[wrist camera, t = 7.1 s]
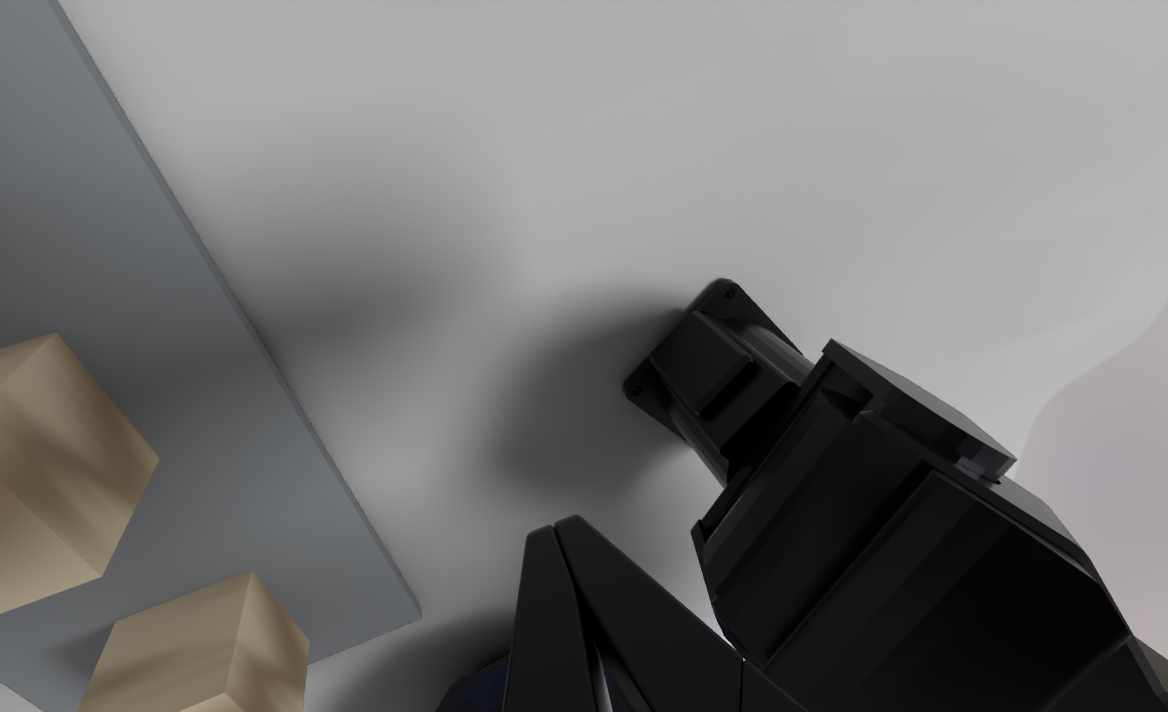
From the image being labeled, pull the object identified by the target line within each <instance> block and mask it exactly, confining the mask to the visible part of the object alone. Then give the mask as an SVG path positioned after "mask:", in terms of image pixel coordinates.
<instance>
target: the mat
mask: <svg viewBox="0 0 1168 712" xmlns="http://www.w3.org/2000/svg"><path fill="white" fill-rule="evenodd" d="M55 332H56V333H57V334H58V335H59V336H60V338H61V339H62V340H63V341H64V342H65V344H66V345H67V346H68V347H69V349H70V350H71V351H72V352H73V353H74V355H75V356H76V357H77V358H78V359H79V361H80V362H81V363H82V364H83V366H84V367H85V368H86V369H87V370H88V372H89V373H90V374H91V375H92V376H93V378H94V379H95V380H96V381H97V383H98V384H99V385H100V386H101V387H102V389H103V390H104V391H105V392H106V393H107V395H108V396H109V397H110V398H111V400H112V401H113V402H114V403H115V404H116V406H117V407H118V408H119V409H120V410H121V412H122V413H123V414H124V415H125V417H126V418H127V419H128V420H129V421H130V423H131V424H132V425H133V426H134V427H135V429H136V430H137V431H138V432H139V434H140V435H141V436H142V437H143V438H144V440H145V441H146V442H147V443H148V444H149V446H150V447H151V448H152V449H153V451H154V452H155V453H156V454H157V455H158V457H159V458H160V459H159V461H158V463H157V465H156V467H155V469H154V471H153V473H152V475H151V478H150V480H149V482H148V484H147V486H146V488H145V490H144V492H143V494H142V496H141V498H140V500H139V502H138V504H137V506H136V508H135V510H134V512H133V514H132V516H131V518H130V520H129V522H128V524H127V526H126V528H125V530H124V532H123V534H122V536H121V538H120V540H119V543H118V545H117V547H116V549H115V551H114V553H113V555H112V557H111V559H110V561H109V563H108V565H107V567H106V569H105V571H104V573H103V575H102V577H100V578H97V579H94V580H92V581H89V582H86V583H83V584H81V585H78V586H75V587H72V588H70V589H67V590H64V591H62V592H59V593H56V594H53V595H51V596H48V597H45V598H42V599H40V600H37V601H34V602H31V603H29V604H26V605H23V606H20V607H18V608H15V609H12V610H9V611H7V612H4V613H1V614H0V682H1V683H2V684H4V685H5V686H7V687H8V688H10V689H11V690H13V691H14V692H16V693H17V694H19V695H20V696H21V697H23V698H24V699H26V700H27V701H29V702H30V703H32V704H33V705H35V706H36V707H37V708H39V709H40V710H42V711H43V712H77V710H78V707H79V705H80V703H81V700H82V698H83V696H84V693H85V691H86V689H87V686H88V684H89V682H90V679H91V677H92V675H93V673H94V670H95V668H96V666H97V663H98V661H99V659H100V656H101V654H102V652H103V649H104V647H105V645H106V642H107V640H108V638H109V635H110V633H111V631H112V628H113V626H114V624H115V622H116V621H118V620H121V619H123V618H126V617H129V616H131V615H134V614H137V613H139V612H142V611H145V610H147V609H150V608H153V607H155V606H158V605H160V604H163V603H166V602H168V601H171V600H174V599H176V598H179V597H182V596H184V595H187V594H190V593H192V592H195V591H198V590H200V589H203V588H205V587H208V586H211V585H213V584H216V583H219V582H221V581H224V580H227V579H229V578H232V577H235V576H237V575H240V574H243V573H245V572H248V571H250V570H252V571H253V572H254V574H255V575H256V576H257V577H258V578H259V580H260V581H261V582H262V583H263V584H264V586H265V587H266V588H267V589H268V591H269V592H270V593H271V594H272V595H273V597H274V598H275V599H276V600H277V601H278V603H279V604H280V605H281V606H282V607H283V609H284V610H285V611H286V612H287V614H288V615H289V616H290V617H291V618H292V620H293V621H294V622H295V623H296V624H297V626H298V627H299V628H300V629H301V631H302V632H303V633H304V634H305V635H306V637H307V638H308V639H309V640H310V642H309V652H308V662H307V665H309V664H312V663H314V662H316V661H319V660H321V659H324V658H326V657H329V656H331V655H333V654H336V653H338V652H341V651H343V650H346V649H348V648H351V647H353V646H355V645H358V644H360V643H363V642H365V641H368V640H370V639H372V638H375V637H377V636H380V635H382V634H385V633H387V632H390V631H392V630H394V629H397V628H399V627H402V626H404V625H407V624H409V623H411V622H414V621H416V620H419V619H421V618H422V614H421V607H420V605H419V603H418V602H417V600H416V598H415V597H414V595H413V593H412V592H411V590H410V588H409V587H408V585H407V583H406V582H405V580H404V578H403V577H402V575H401V573H400V572H399V570H398V568H397V567H396V565H395V563H394V562H393V560H392V558H391V557H390V555H389V553H388V552H387V550H386V548H385V547H384V545H383V543H382V542H381V540H380V538H379V537H378V535H377V533H376V532H375V530H374V528H373V527H372V525H371V523H370V522H369V520H368V518H367V517H366V515H365V513H364V512H363V510H362V508H361V507H360V505H359V503H358V502H357V500H356V498H355V497H354V495H353V493H352V492H351V490H350V488H349V487H348V485H347V483H346V482H345V480H344V478H343V477H342V475H341V473H340V472H339V470H338V468H337V467H336V465H335V463H334V462H333V460H332V458H331V457H330V455H329V453H328V452H327V450H326V448H325V446H324V445H323V443H322V441H321V440H320V438H319V436H318V435H317V433H316V431H315V430H314V428H313V426H312V425H311V423H310V421H309V420H308V418H307V416H306V415H305V413H304V411H303V410H302V408H301V406H300V405H299V403H298V401H297V400H296V398H295V396H294V395H293V393H292V391H291V390H290V388H289V386H288V385H287V383H286V381H285V380H284V378H283V376H282V375H281V373H280V371H279V370H278V368H277V366H276V365H275V363H274V361H273V360H272V358H271V356H270V355H269V353H268V351H267V350H266V348H265V346H264V345H263V343H262V341H261V340H260V338H259V336H258V335H257V333H256V331H255V330H254V328H253V326H252V325H251V323H250V321H249V320H248V318H247V316H246V315H245V313H244V311H243V310H242V308H241V306H240V305H239V303H238V301H237V300H236V298H235V296H234V295H233V293H232V291H231V290H230V288H229V286H228V285H227V283H226V281H225V280H224V278H223V276H222V275H221V273H220V271H219V269H218V268H217V266H216V264H215V263H214V261H213V259H212V258H211V256H210V254H209V253H208V251H207V249H206V248H205V246H204V244H203V243H202V241H201V239H200V238H199V236H198V234H197V233H196V231H195V229H194V228H193V226H192V224H191V223H190V221H189V219H188V218H187V216H186V214H185V213H184V211H183V209H182V208H181V206H180V204H179V203H178V201H177V199H176V198H175V196H174V194H173V193H172V191H171V189H170V188H169V186H168V184H167V183H166V181H165V179H164V178H163V176H162V174H161V173H160V171H159V169H158V168H157V166H156V164H155V163H154V161H153V159H152V158H151V156H150V154H149V153H148V151H147V149H146V148H145V146H144V144H143V143H142V141H141V139H140V138H139V136H138V134H137V133H136V131H135V129H134V128H133V126H132V124H131V123H130V121H129V119H128V118H127V116H126V114H125V113H124V111H123V109H122V108H121V106H120V104H119V103H118V101H117V99H116V98H115V96H114V94H113V93H112V91H111V89H110V87H109V86H108V84H107V82H106V81H105V79H104V77H103V76H102V74H101V72H100V71H99V69H98V67H97V66H96V64H95V62H94V61H93V59H92V57H91V56H90V54H89V52H88V51H87V49H86V47H85V46H84V44H83V42H82V41H81V39H80V37H79V36H78V34H77V32H76V31H75V29H74V27H73V26H72V24H71V22H70V21H69V19H68V17H67V16H66V14H65V12H64V11H63V9H62V7H61V6H60V4H59V2H58V1H57V0H0V349H1V348H4V347H8V346H11V345H15V344H18V343H21V342H25V341H28V340H31V339H35V338H38V337H42V336H45V335H48V334H52V333H55Z"/></svg>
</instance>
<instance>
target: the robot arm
mask: <svg viewBox="0 0 1168 712" xmlns="http://www.w3.org/2000/svg"><path fill="white" fill-rule="evenodd" d="M729 288H730V291H729V293H728V294H727V295H726V296H724V293H725V291H726V290H728V289H729ZM822 352H823V353H824V354H823V355H822V357H821V358H820V359H819V361H818V362H817V363H816V365H814V364H813V363H812V362H810V361H809V360H808V359H806V358H805V357H804V356H803V354H802V353H801V352H800V351H799V350H798V349H797V347H796V346H795V345H794V344H793V343H792V342H791V341H790V340H789V339H788V338H787V337H786V336H785V335H784V333H783V332H782V331H781V330H780V329H779V328H778V327H777V326H776V325H775V324H774V323H773V322H772V321H771V319H770V318H769V317H768V316H767V315H766V314H765V313H764V312H763V311H762V310H761V309H760V308H759V307H758V306H757V304H756V303H755V302H754V301H753V300H752V299H751V298H750V297H749V296H748V295H747V294H746V293H745V292H744V290H743V289H742V288H741V287H740V286H739V285H738V284H736V283H735V282H733V281H732V280H730V279H725V280H722V281H720V282H719V283H718V284H717V285H716V286H715V287H714V288H713V289H712V290H711V291H710V292H709V293H708V294H707V295H706V296H705V297H704V299H703V300H702V301H701V302H700V303H699V304H698V305H697V306H696V307H695V308H694V309H693V310H692V311H691V312H690V313H689V314H688V315H687V316H686V317H685V318H684V319H683V321H682V322H681V323H680V324H679V325H678V326H677V327H676V328H675V329H674V330H673V331H672V332H671V333H670V334H669V335H668V336H667V337H666V338H665V339H664V341H663V342H662V343H661V344H660V345H659V346H658V347H657V348H656V349H655V350H654V351H653V352H652V353H651V354H650V355H649V356H648V358H647V359H646V360H645V361H644V362H643V363H642V364H641V365H640V366H639V367H638V368H637V369H636V370H635V371H634V372H633V373H632V374H631V375H630V376H629V378H628V379H627V380H626V381H625V382H624V384H623V387H622V390H623V393H624V394H625V395H626V397H627V398H628V399H629V400H630V401H631V402H633V403H634V404H636V405H637V406H638V407H640V408H641V409H642V410H644V411H645V412H647V413H648V414H649V415H651V416H652V417H653V418H655V419H656V420H657V421H659V422H660V423H662V424H663V425H664V426H666V427H667V428H668V429H670V430H671V431H673V432H674V433H675V434H677V435H678V436H679V437H681V438H682V439H684V440H685V441H686V442H688V443H689V444H690V445H691V447H692V448H693V449H694V451H695V452H696V453H697V455H698V456H699V457H700V458H701V460H702V461H703V462H704V464H705V465H706V466H707V468H708V469H709V470H710V471H711V473H712V474H713V475H714V477H715V478H716V479H717V481H718V482H719V483H720V484H721V486H722V487H723V488H724V490H723V492H722V493H721V494H720V496H719V497H718V498H717V500H716V501H715V502H714V504H713V505H712V507H711V508H710V509H709V511H708V512H707V513H706V515H705V516H704V517H703V519H702V520H698V521H697V522H696V524H695V525H694V527H693V528H692V529H691V536H692V539H693V543H694V546H695V549H696V553H697V556H698V560H699V563H700V567H701V570H702V574H703V577H704V580H705V584H706V587H707V591H708V594H709V598H710V601H711V605H712V608H713V612H714V614H715V617H716V619H717V622H718V624H719V626H720V628H721V629H722V632H723V635H724V636H725V638H726V639H727V640H728V641H729V642H730V643H731V644H732V645H733V647H734V648H735V649H736V650H737V651H736V650H735V649H734V648H733V647H732V646H730V645H729V644H728V643H727V642H726V641H725V640H723V639H722V638H721V637H720V636H719V635H718V634H717V633H715V632H714V631H713V630H712V629H711V628H710V627H708V626H707V625H706V624H705V623H704V622H703V621H701V620H700V619H699V618H698V617H697V616H696V615H695V614H693V613H692V612H691V611H690V610H689V609H688V608H686V607H685V606H684V605H683V604H682V603H681V602H679V601H678V600H677V599H676V598H675V597H674V596H673V595H671V594H670V593H669V592H668V591H667V590H666V589H664V588H663V587H662V586H661V585H660V584H659V583H657V582H656V581H655V580H654V579H653V578H652V577H651V576H649V575H648V574H647V573H646V572H645V571H644V570H642V569H641V568H640V567H639V566H638V565H637V564H635V563H634V562H633V561H632V560H631V559H630V558H628V557H627V556H626V555H625V554H624V553H623V552H622V551H620V550H619V549H618V548H617V547H616V546H615V545H613V544H612V543H611V542H610V541H609V540H608V539H606V538H605V537H604V536H603V535H602V534H601V533H600V532H598V531H597V530H596V529H595V528H594V527H593V526H591V525H590V524H589V523H588V522H587V521H586V520H584V519H583V518H582V517H581V516H579V515H572V516H570V517H567V518H565V519H562V520H559V521H557V522H556V523H555V524H554V528H553V526H551V525H547V526H544V527H542V528H539V529H537V530H534V531H532V532H530V533H529V534H528V535H527V537H526V543H525V550H524V557H523V564H522V571H521V579H520V586H519V593H518V600H517V607H516V614H515V622H514V629H513V636H512V643H511V650H510V657H509V665H508V672H507V679H506V686H505V693H504V701H503V708H502V712H613V711H612V706H611V702H610V698H609V694H608V689H607V685H606V681H605V677H604V673H603V669H602V665H601V662H600V659H599V656H600V658H601V661H602V663H603V665H604V667H605V669H606V672H607V674H608V676H609V678H610V680H611V682H612V684H613V686H614V688H615V690H616V692H617V694H618V696H619V698H620V700H621V702H622V704H623V706H624V708H625V710H626V712H1168V660H1167V659H1166V658H1165V657H1163V656H1162V655H1160V654H1159V653H1157V652H1156V651H1154V650H1153V649H1152V648H1150V647H1148V646H1147V645H1146V644H1145V643H1143V642H1142V641H1140V640H1139V639H1138V638H1136V637H1135V636H1134V635H1133V633H1132V632H1131V630H1130V628H1129V626H1128V625H1127V623H1126V621H1125V619H1124V618H1123V616H1122V614H1121V612H1120V611H1119V609H1118V607H1117V605H1116V604H1115V602H1114V600H1113V598H1112V597H1111V595H1110V593H1109V591H1108V590H1107V588H1106V586H1105V584H1104V583H1103V581H1102V579H1101V577H1100V576H1099V574H1098V572H1097V570H1096V569H1095V567H1094V565H1093V563H1092V561H1091V560H1090V558H1089V557H1088V556H1087V554H1086V553H1085V552H1084V551H1083V549H1082V548H1081V547H1080V545H1079V544H1078V543H1077V542H1076V540H1075V539H1074V538H1073V536H1072V535H1071V534H1070V533H1069V531H1068V530H1067V529H1066V528H1065V526H1064V525H1063V524H1062V523H1061V521H1060V520H1059V519H1058V517H1057V516H1056V515H1055V514H1054V512H1053V511H1052V510H1051V508H1050V507H1049V506H1048V505H1047V504H1046V503H1044V502H1043V501H1042V500H1041V499H1039V498H1038V497H1036V496H1035V495H1033V494H1031V493H1030V492H1029V491H1027V490H1026V489H1024V488H1023V487H1021V486H1020V485H1018V484H1016V483H1015V482H1013V481H1012V480H1010V479H1009V478H1007V477H1006V476H1004V474H1005V473H1006V472H1007V471H1008V470H1009V468H1010V467H1011V466H1012V465H1013V464H1014V463H1015V462H1016V461H1017V460H1018V459H1017V458H1016V457H1015V456H1014V455H1012V454H1011V453H1010V452H1009V451H1008V450H1006V449H1005V448H1004V447H1003V446H1002V445H1000V444H999V443H998V442H997V441H995V440H994V439H993V438H992V437H991V436H989V435H988V434H987V433H986V432H985V431H983V430H982V429H981V428H980V427H979V426H977V425H976V424H975V423H974V422H972V421H971V420H970V419H969V418H968V417H966V416H965V415H964V414H962V413H961V412H959V411H958V410H956V409H955V408H953V407H952V406H950V405H948V404H947V403H945V402H944V401H942V400H940V399H939V398H937V397H936V396H934V395H932V394H931V393H929V392H928V391H926V390H924V389H923V388H921V387H920V386H918V385H916V384H915V383H913V382H912V381H910V380H908V379H907V378H905V377H903V376H901V375H899V374H897V373H896V372H894V371H892V370H890V369H888V368H886V367H884V366H882V365H881V364H879V363H877V362H875V361H873V360H871V359H869V358H867V357H866V356H864V355H862V354H860V353H858V352H856V351H854V350H852V349H851V348H849V347H847V346H845V345H843V344H841V343H839V342H838V341H836V340H834V339H832V338H831V339H830V341H829V342H828V343H827V345H826V346H825V347H824V349H823V350H822ZM635 386H638V388H637V389H636V390H635V391H631V390H632V389H633V388H634V387H635ZM554 529H555V530H554ZM555 532H556V533H555ZM595 645H596V646H595ZM596 648H597V649H596ZM597 650H598V652H597ZM598 653H599V656H598ZM743 658H744V659H745V661H744V662H743Z"/></svg>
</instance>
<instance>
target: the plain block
mask: <svg viewBox="0 0 1168 712" xmlns="http://www.w3.org/2000/svg"><path fill="white" fill-rule="evenodd" d="M159 459H160V458H159V457H158V455H157V454H156V453H155V452H154V451H153V449H152V448H151V447H150V446H149V444H148V443H147V442H146V441H145V440H144V438H143V437H142V436H141V435H140V434H139V432H138V431H137V430H136V429H135V427H134V426H133V425H132V424H131V423H130V421H129V420H128V419H127V418H126V417H125V415H124V414H123V413H122V412H121V410H120V409H119V408H118V407H117V406H116V404H115V403H114V402H113V401H112V400H111V398H110V397H109V396H108V395H107V393H106V392H105V391H104V390H103V389H102V387H101V386H100V385H99V384H98V383H97V381H96V380H95V379H94V378H93V376H92V375H91V374H90V373H89V372H88V370H87V369H86V368H85V367H84V366H83V364H82V363H81V362H80V361H79V359H78V358H77V357H76V356H75V355H74V353H73V352H72V351H71V350H70V349H69V347H68V346H67V345H66V344H65V342H64V341H63V340H62V339H61V338H60V336H59V335H58V334H57V333H56V332H55V333H52V334H48V335H45V336H42V337H38V338H35V339H31V340H28V341H25V342H21V343H18V344H15V345H11V346H8V347H4V348H1V349H0V614H1V613H4V612H7V611H9V610H12V609H15V608H18V607H20V606H23V605H26V604H29V603H31V602H34V601H37V600H40V599H42V598H45V597H48V596H51V595H53V594H56V593H59V592H62V591H64V590H67V589H70V588H72V587H75V586H78V585H81V584H83V583H86V582H89V581H92V580H94V579H97V578H100V577H102V575H103V573H104V571H105V569H106V567H107V565H108V563H109V561H110V559H111V557H112V555H113V553H114V551H115V549H116V547H117V545H118V543H119V540H120V538H121V536H122V534H123V532H124V530H125V528H126V526H127V524H128V522H129V520H130V518H131V516H132V514H133V512H134V510H135V508H136V506H137V504H138V502H139V500H140V498H141V496H142V494H143V492H144V490H145V488H146V486H147V484H148V482H149V480H150V478H151V475H152V473H153V471H154V469H155V467H156V465H157V463H158V461H159Z"/></svg>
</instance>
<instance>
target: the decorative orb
mask: <svg viewBox="0 0 1168 712" xmlns="http://www.w3.org/2000/svg"><path fill="white" fill-rule="evenodd" d="M597 652H598V651H597ZM598 656H599V653H598ZM509 657H510V654H509V655H507V656H505V657H503V658H501V659H499V660H497V661H496V662H494V663H492V664H490V665H488V666H486V667H484V668H482V669H481V670H479V671H477V672H475V673H473V674H471V675H469V676H468V677H466V678H464V679H462V680H460V681H458V682H456V683H455V684H453V685H452V686H451V687H450V689H449V691H448V692H447V694H446V695H445V697H444V699H443V700H442V702H441V704H440V705H439V707H438V708H437V710H436V712H502V708H503V701H504V693H505V686H506V679H507V672H508V665H509ZM599 659H600V662H601V665H602V669H603V673H604V677H605V681H606V685H607V689H608V694H609V698H610V702H611V706H612V711H613V712H626V710H625V708H624V706H623V704H622V702H621V700H620V698H619V696H618V694H617V692H616V690H615V688H614V686H613V684H612V682H611V680H610V678H609V676H608V674H607V672H606V669H605V667H604V665H603V663H602V661H601V658H600V656H599Z"/></svg>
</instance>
